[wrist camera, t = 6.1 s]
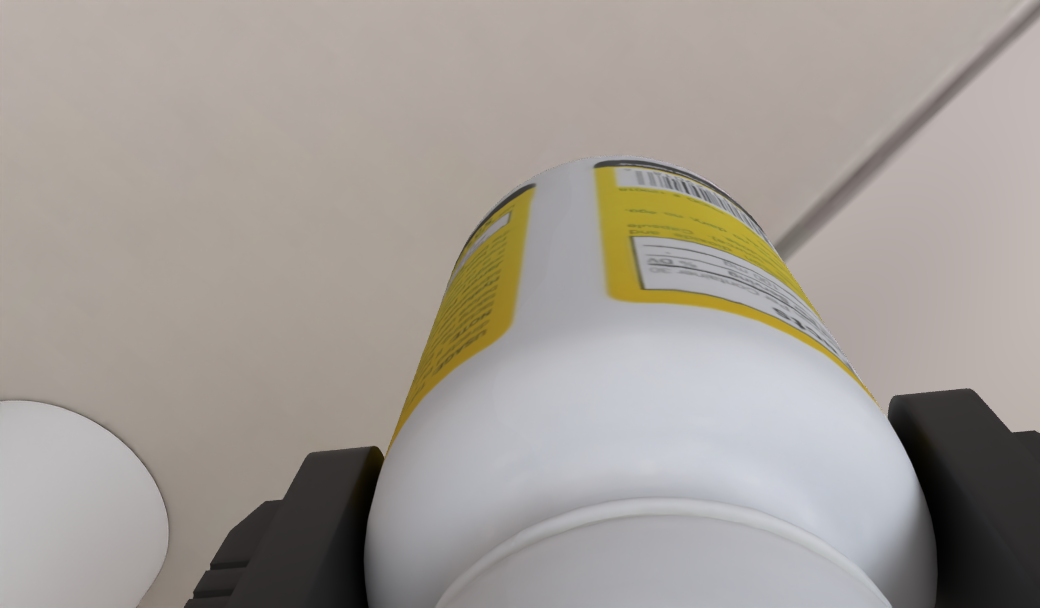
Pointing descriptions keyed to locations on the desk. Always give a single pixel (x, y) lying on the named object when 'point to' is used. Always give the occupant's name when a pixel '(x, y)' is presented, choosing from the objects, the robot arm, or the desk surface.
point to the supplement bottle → (639, 420)
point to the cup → (74, 513)
